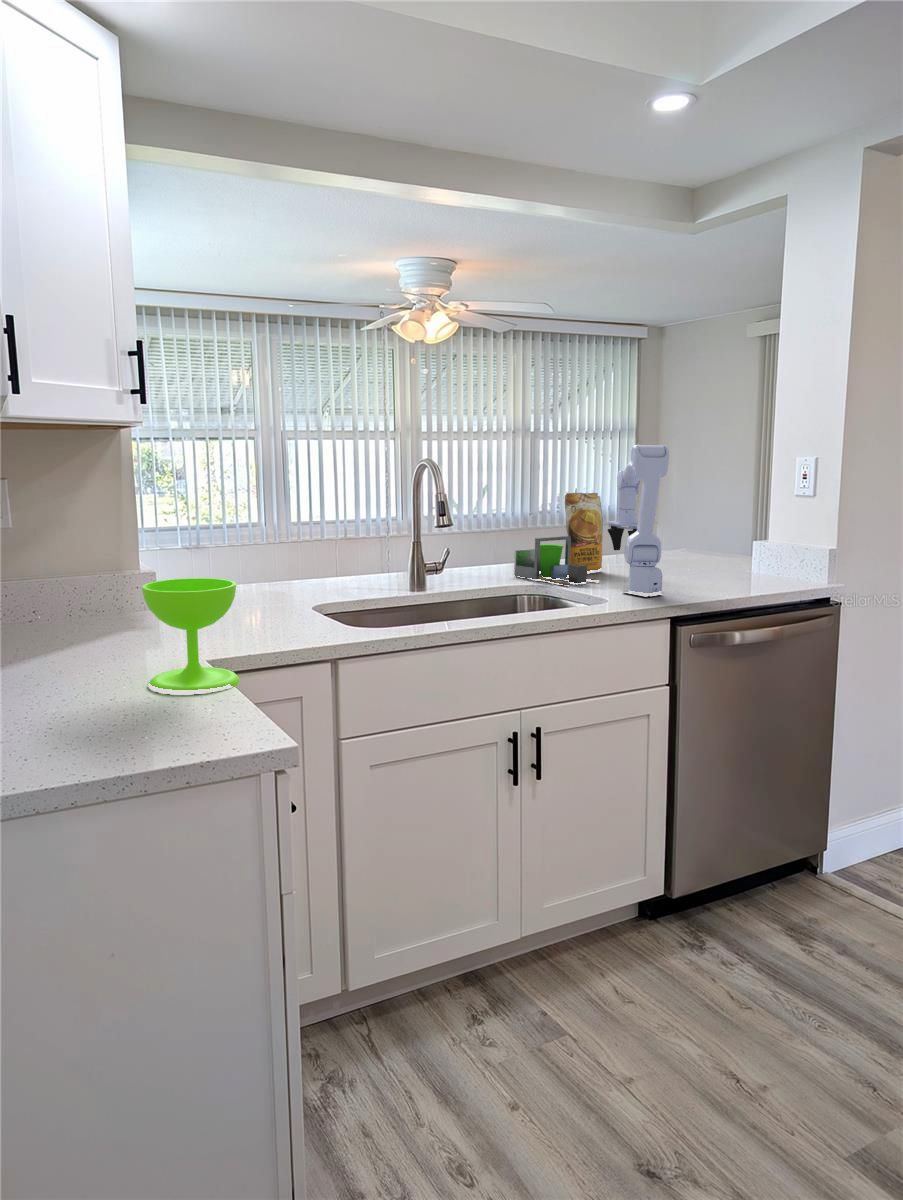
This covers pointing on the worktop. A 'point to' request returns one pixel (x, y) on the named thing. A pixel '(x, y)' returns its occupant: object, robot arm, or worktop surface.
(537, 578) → the lane rails
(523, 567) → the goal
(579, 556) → the pancake mix bag
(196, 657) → the wineglass
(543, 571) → the cup
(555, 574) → the blue and gray block
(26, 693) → the worktop surface
